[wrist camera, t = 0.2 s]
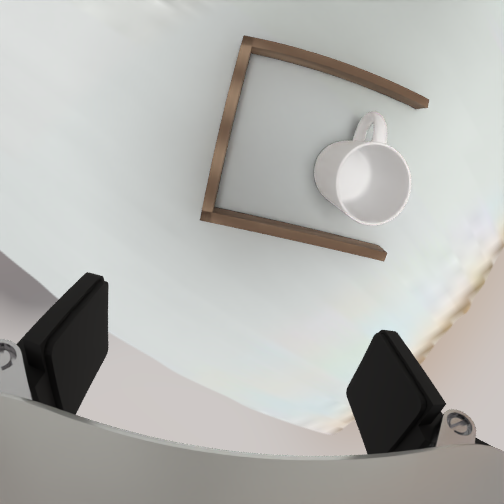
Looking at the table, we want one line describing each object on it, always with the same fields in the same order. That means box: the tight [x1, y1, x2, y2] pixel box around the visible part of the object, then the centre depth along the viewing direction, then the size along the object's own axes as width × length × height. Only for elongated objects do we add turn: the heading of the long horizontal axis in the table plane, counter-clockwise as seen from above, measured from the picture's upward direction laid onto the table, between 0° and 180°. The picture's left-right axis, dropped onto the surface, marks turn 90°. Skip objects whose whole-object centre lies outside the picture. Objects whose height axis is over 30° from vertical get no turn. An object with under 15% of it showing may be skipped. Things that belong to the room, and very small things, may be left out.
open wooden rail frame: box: [200, 36, 429, 261], centre depth 35 cm, size 22×24×3 cm
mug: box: [314, 111, 411, 225], centre depth 32 cm, size 12×8×10 cm
